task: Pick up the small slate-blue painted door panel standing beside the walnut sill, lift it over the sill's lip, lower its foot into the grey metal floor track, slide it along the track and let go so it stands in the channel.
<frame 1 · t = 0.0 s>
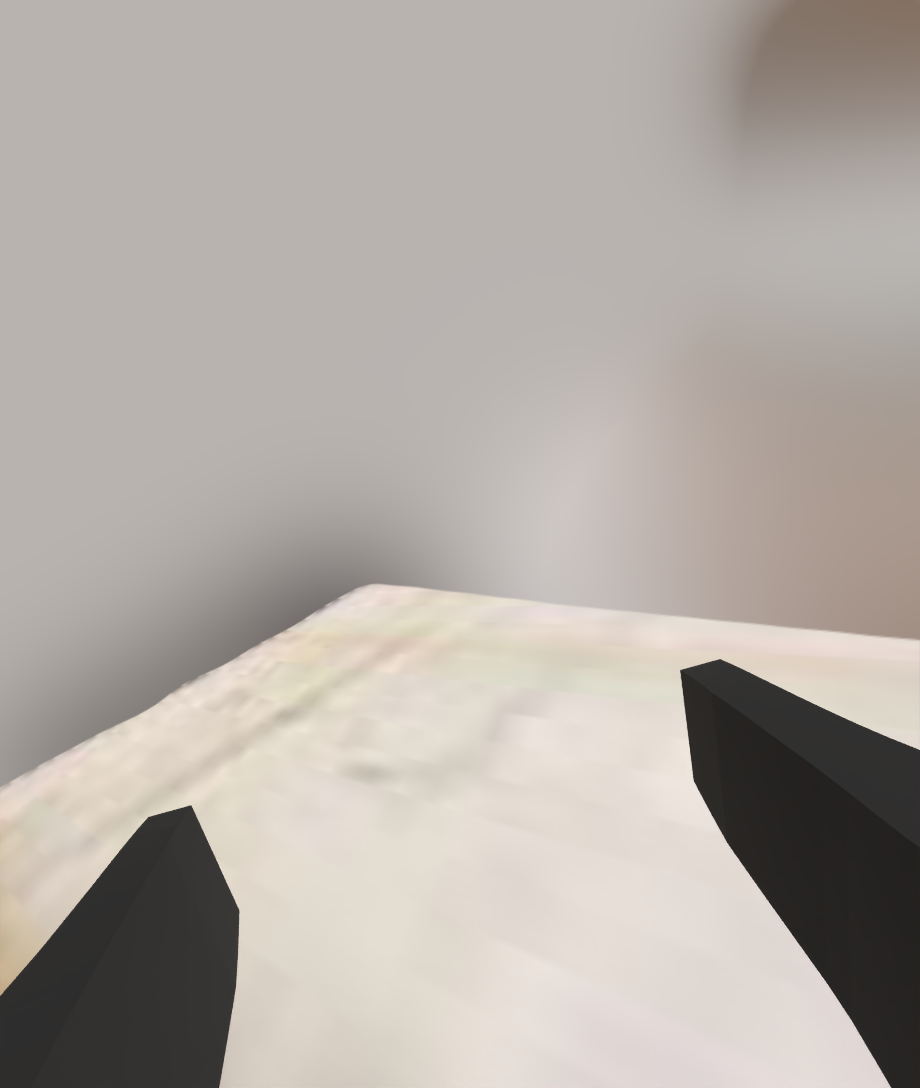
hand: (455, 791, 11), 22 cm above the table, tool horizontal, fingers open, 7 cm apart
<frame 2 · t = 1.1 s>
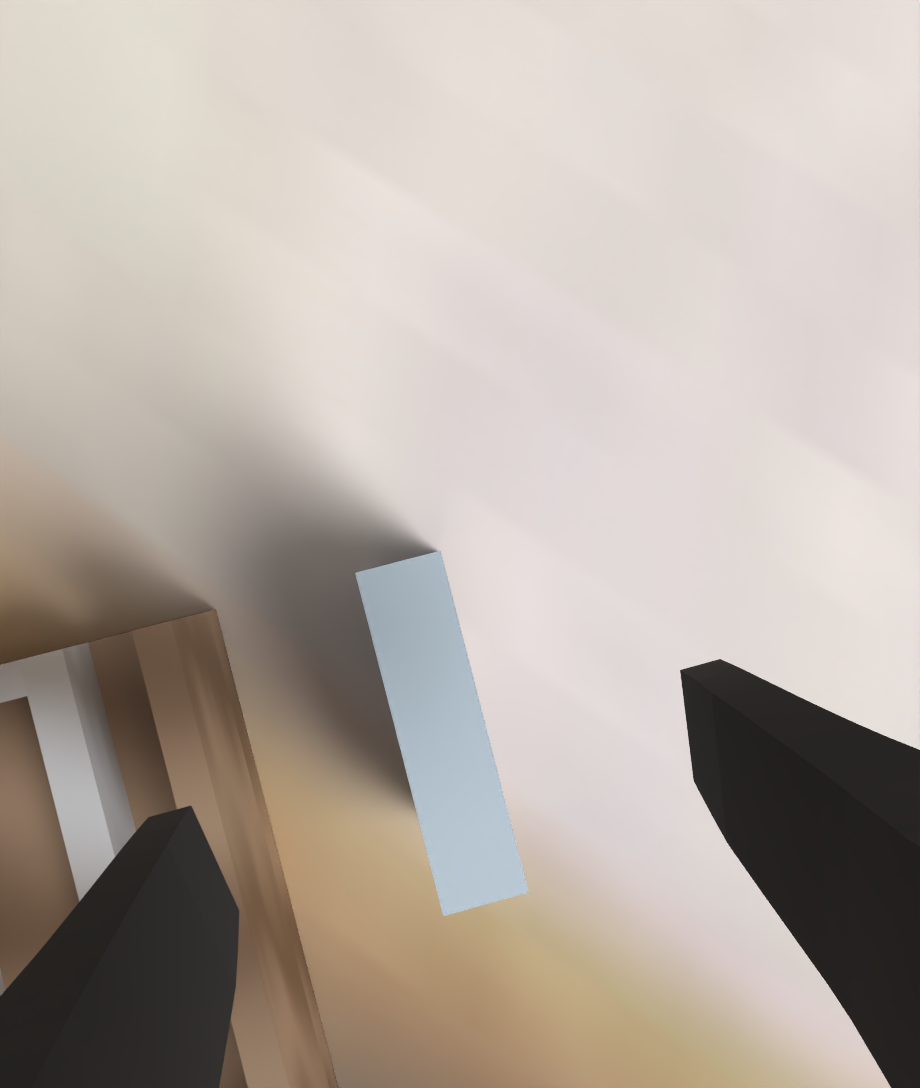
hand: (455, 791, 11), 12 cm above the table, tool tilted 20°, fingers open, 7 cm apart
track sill: (73, 938, 22), on the table
door panel: (439, 685, 23), on the table
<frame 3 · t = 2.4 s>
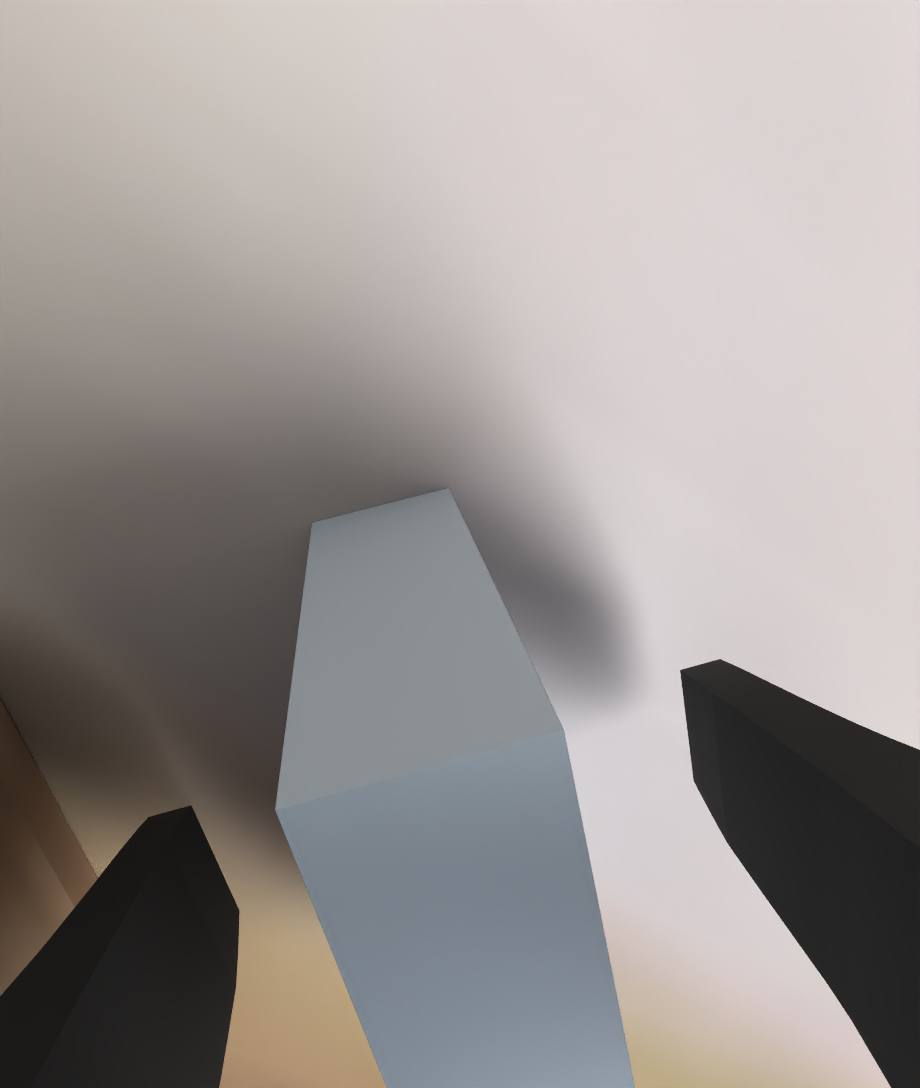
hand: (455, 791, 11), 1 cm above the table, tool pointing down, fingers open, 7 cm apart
door panel: (443, 730, 12), on the table
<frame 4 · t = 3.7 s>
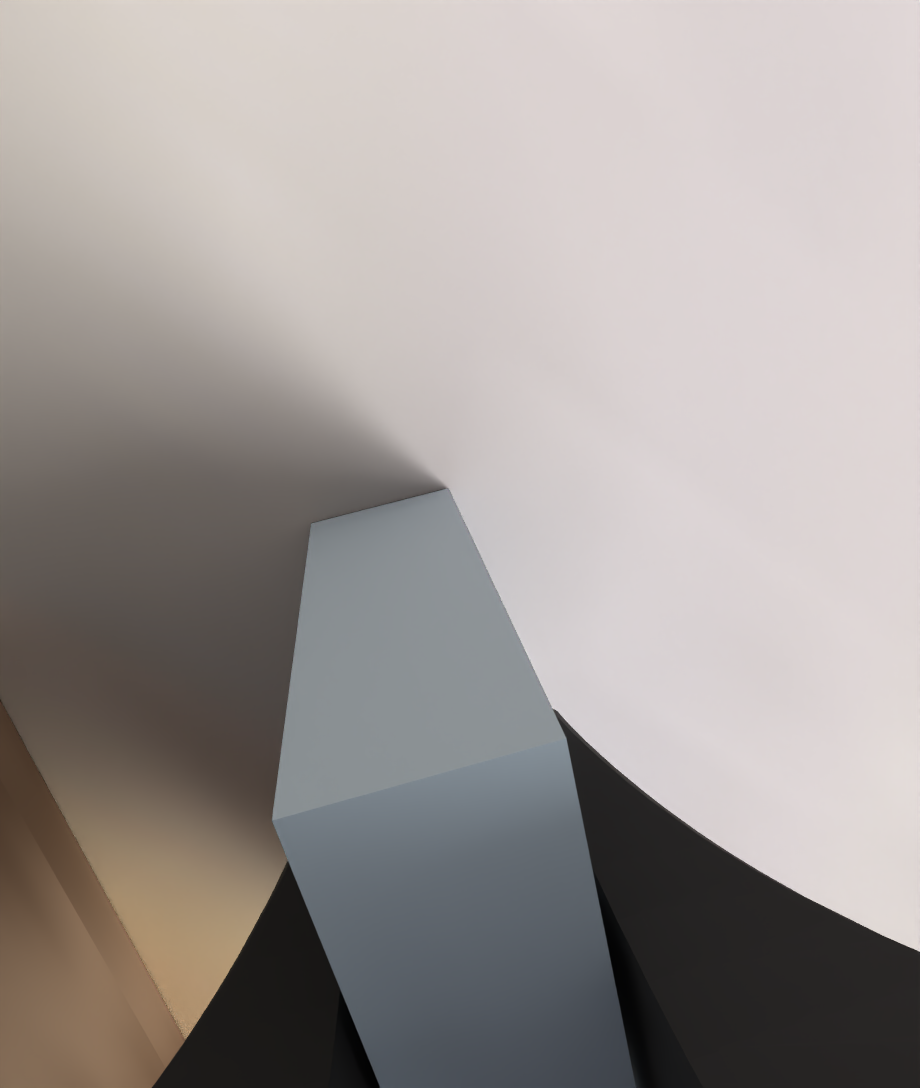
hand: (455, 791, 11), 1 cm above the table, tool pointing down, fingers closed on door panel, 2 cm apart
door panel: (443, 733, 12), on the table, touching gripper
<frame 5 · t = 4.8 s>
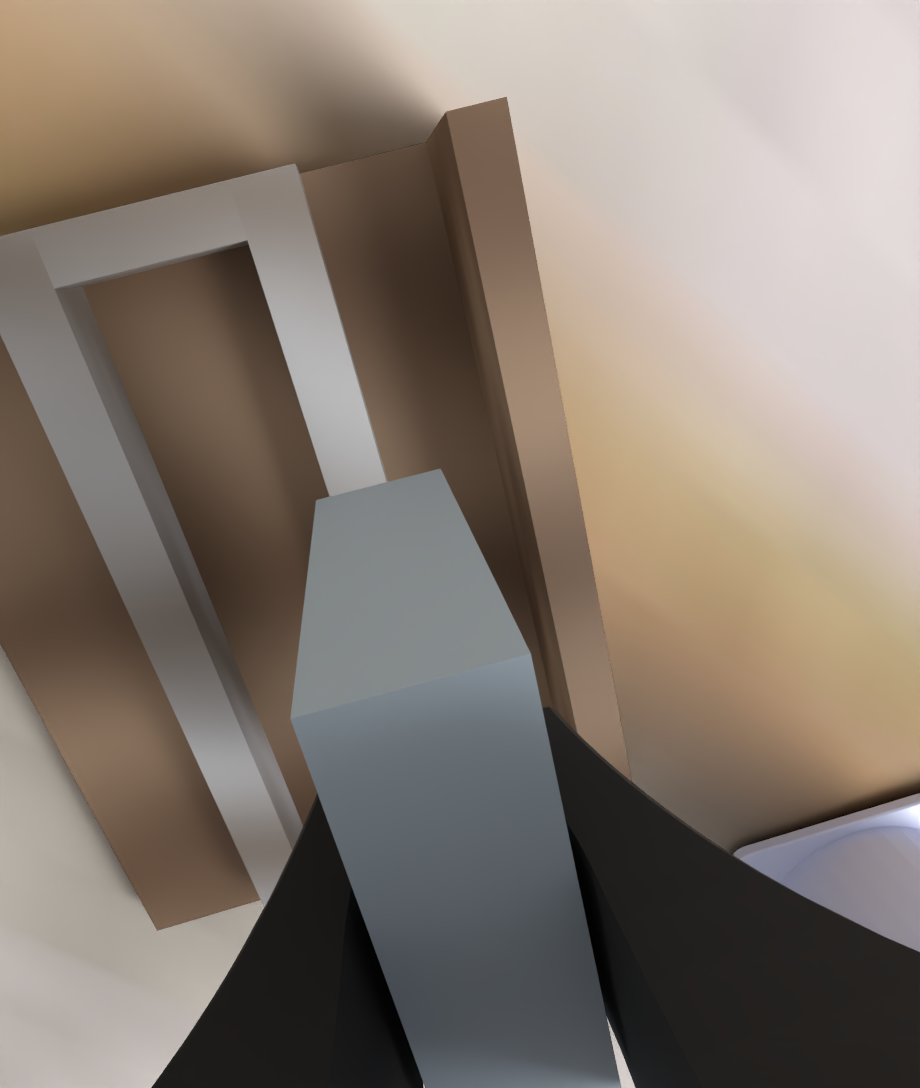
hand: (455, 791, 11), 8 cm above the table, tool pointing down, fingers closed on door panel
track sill: (292, 582, 18), on the table
door panel: (436, 695, 13), point 6 cm above the table, touching gripper
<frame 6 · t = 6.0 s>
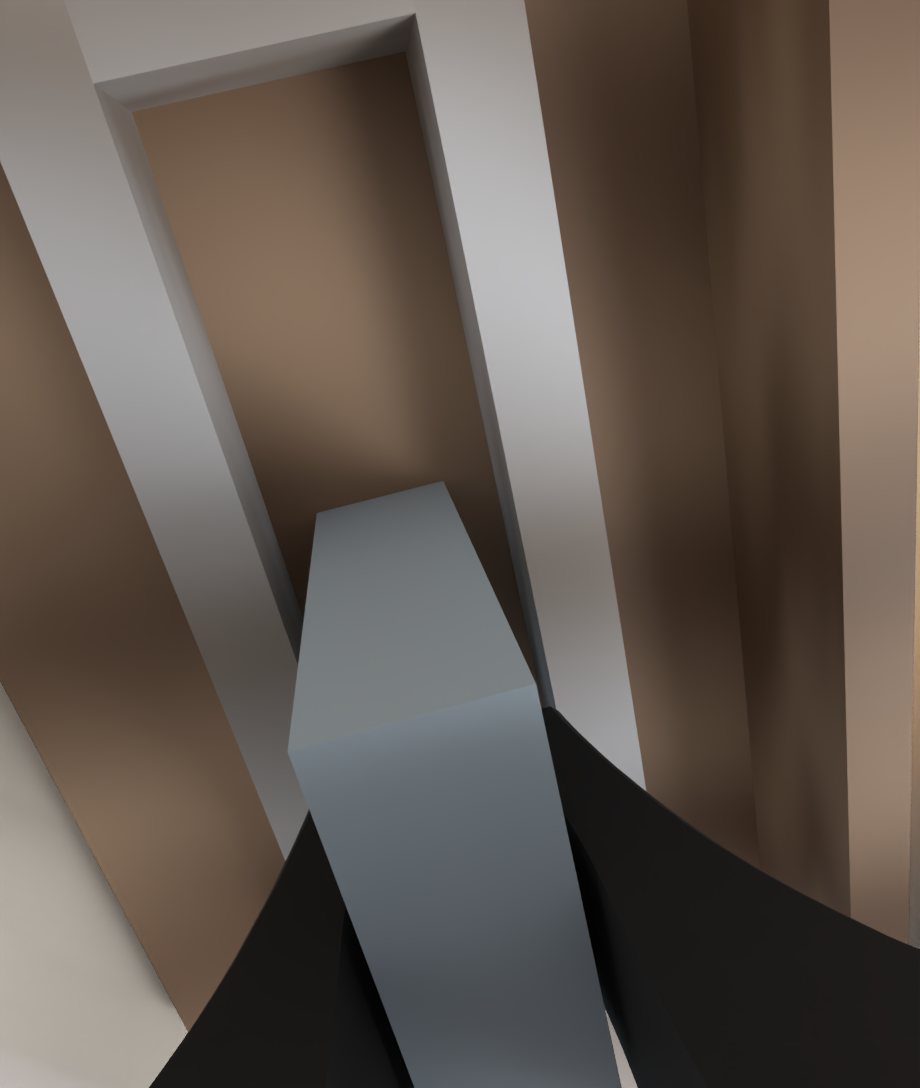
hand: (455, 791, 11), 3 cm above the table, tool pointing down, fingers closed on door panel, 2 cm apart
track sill: (408, 583, 13), on the table
door panel: (438, 709, 13), point 1 cm above the table, touching gripper, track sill
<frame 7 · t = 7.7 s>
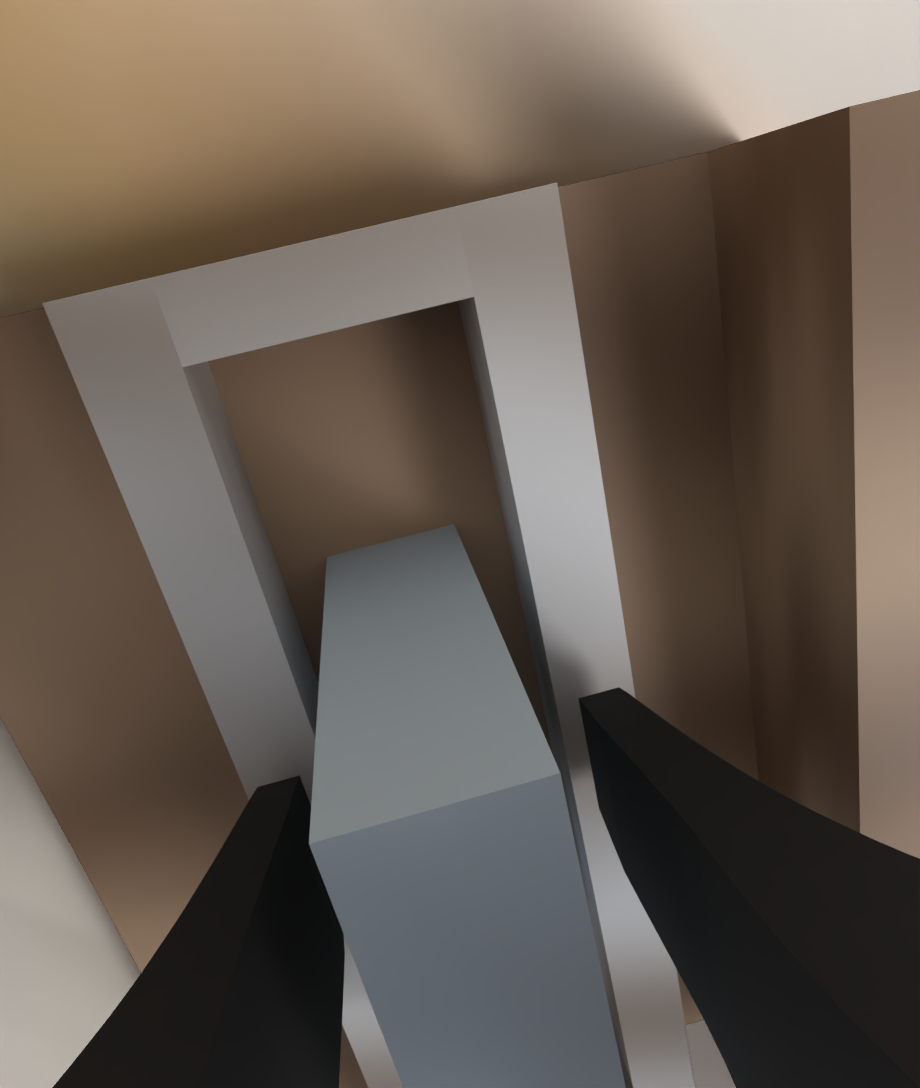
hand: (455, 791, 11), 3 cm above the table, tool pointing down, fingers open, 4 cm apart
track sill: (446, 733, 14), on the table
door panel: (448, 749, 13), point 1 cm above the table, touching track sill
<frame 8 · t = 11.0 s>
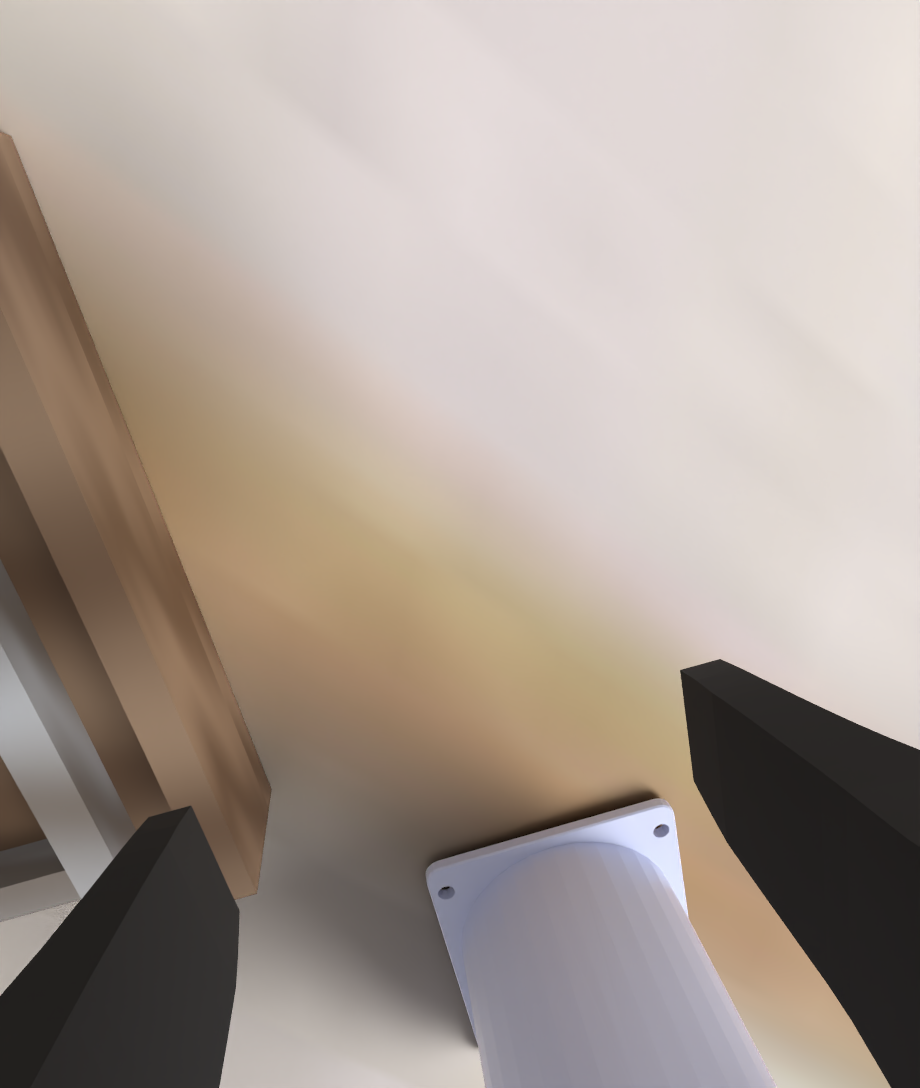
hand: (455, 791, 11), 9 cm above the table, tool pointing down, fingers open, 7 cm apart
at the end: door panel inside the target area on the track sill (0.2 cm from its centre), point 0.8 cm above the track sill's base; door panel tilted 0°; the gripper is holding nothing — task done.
